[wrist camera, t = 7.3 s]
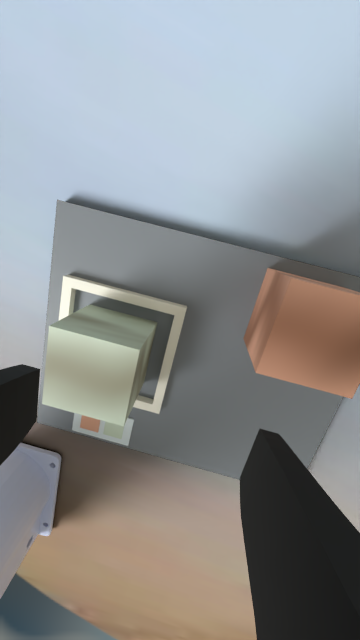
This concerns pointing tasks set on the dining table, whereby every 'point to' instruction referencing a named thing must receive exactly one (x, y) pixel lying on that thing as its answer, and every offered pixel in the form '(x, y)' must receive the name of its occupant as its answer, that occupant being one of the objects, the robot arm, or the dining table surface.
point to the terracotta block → (306, 333)
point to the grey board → (184, 340)
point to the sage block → (97, 363)
